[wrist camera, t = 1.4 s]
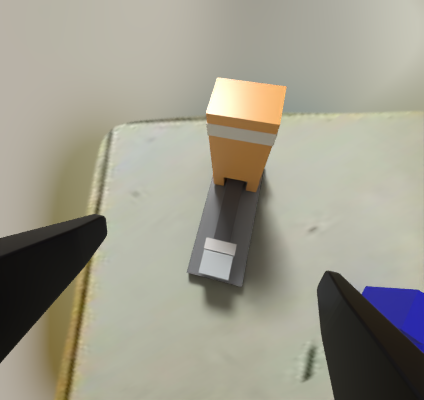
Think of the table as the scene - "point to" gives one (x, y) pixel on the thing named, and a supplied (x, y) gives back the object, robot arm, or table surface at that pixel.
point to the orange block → (242, 128)
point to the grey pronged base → (225, 232)
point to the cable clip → (400, 310)
